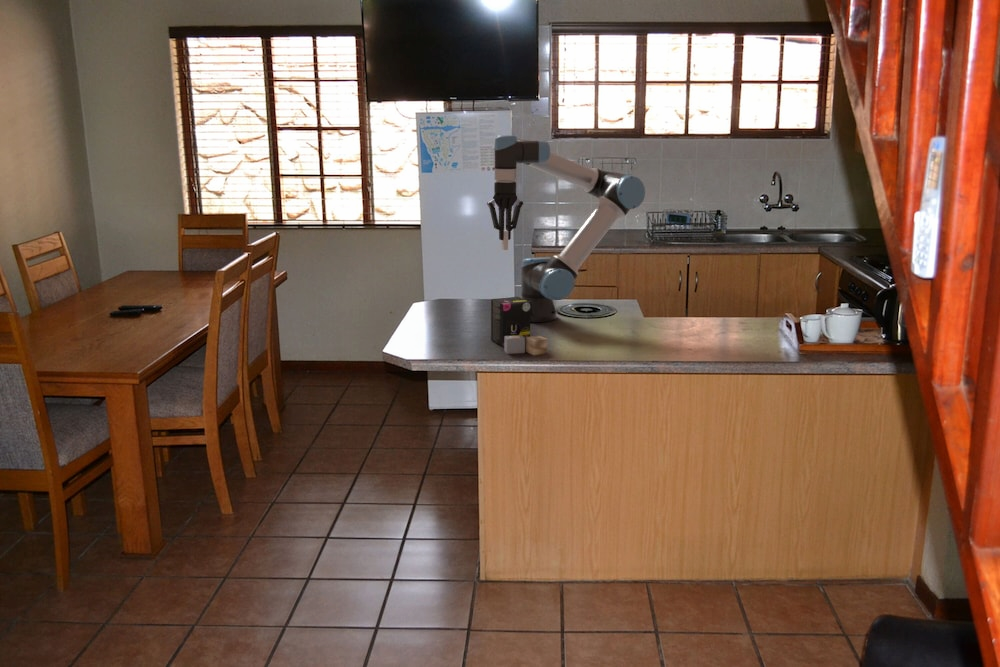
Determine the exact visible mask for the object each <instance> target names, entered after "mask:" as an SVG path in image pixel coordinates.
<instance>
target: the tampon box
mask: <svg viewBox="0 0 1000 667" xmlns="http://www.w3.org/2000/svg"><path fill="white" fill-rule="evenodd" d="M490 305H491V306H490V311H491V312H490V313H491V314H490V319H491V320H490V326H491V328H490V338H491V339H490V341H492V342H494V343H496V344H499V346H502V347H504V336H518V335H522V336H523V337H524V338H525V345H526V337H530V336H531V322H530V321H531V302H530V301H527V300H525V299H522V298H521V296H520V297H519V296H510V297H500V298H499V297H497V298H492V299H490Z"/></svg>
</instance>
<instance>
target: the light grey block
mask: <svg viewBox="0 0 1000 667" xmlns="http://www.w3.org/2000/svg"><path fill="white" fill-rule="evenodd" d="M503 348H504V350H503V351H504V352H505V353H506V355H509V354H525V352H526V344H525V338H524V337H523V336H522V335H518V336H504V346H503Z"/></svg>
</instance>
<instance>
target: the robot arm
mask: <svg viewBox="0 0 1000 667" xmlns="http://www.w3.org/2000/svg"><path fill="white" fill-rule="evenodd" d="M493 150H494V180H495V182H494V188H493V192H494V195H493V197H492V199H491V200H490V201H487V202H486V205H487V206H488V208H489V212H490V215H491V220H492V224H493V229H495V230H497V231H498V239H499V240H500V241H501V250H503V251H508V250H509V240H511V238H512V237H511V236H512V231H513V230H515V229H516V228H517V225H518V221H519V216H520V212H521V208H522V206H523V205H524V201H522V200H520V199H519V198H518V195H517V165H518V164H524V165H526V166H529V167H531V168H533V169H535V170H538V171H540V172H542V173H546V174H548V175H551V176H552V177H555V178H557V179H560V180H562V181H565V182H567V183H570V184H573V185H574V186H578V187H579V188H582V190H583V192H584V193H587V194H589V195H591V196H594V197H595V198H597V199H598V200H599V201H598V202H599V204H597V206H596V208H594V209H593V211H592V212H591V214H590V215H589V216H588V217H587V218H586V220H585V221H584V222H583V223H582V225H581V227H579V229H578V230H577V231H576V232H575V234H574V235H573V236H572V237H571V239H570V240H569V242H568V243H567V244H566V245H565V247H564V248H563V249H562V251H561V252H560V253H559V254H555V255H552V256H551V257H550V256H549V257H545V256H544V257H541V256H540V257H528V258H523V259H522V261H521V267H520V268H521V291H520V292H521V296H520V298H522V299H525V300H527V301H530V302H531V321H530V323H546V322H547V323H548V322H551V321H555V320H556V319H557V309H556V306H555V303H554V301H561V300H564V299H566V298H568V297H569V296H570V295H571V294H572V293H573V291H574V288H575V282H576V279H577V278H578V276H579V272H578V270H579V268H580V267H581V266H582V265H583V263H584V262H585V261H586V260H587V258H588V257H589V256H590V254H591V253H592V252H593V251H594V250H595V248H596V246H597V245H598V244H599V242H601V240H602V239H603V238H604V236H605V235H606V234H607V233H608V231H609V230H610V229H611V228H612V226H613V225H614V224H615V222H616V221H617V220H618V219H619V218H620V219H621V218H625V217H626V215H627V214H628V213H629V212H630V211H631V210H634V209H636V208H638V207H640V205H642V204H643V203H644V200H645V197H646V187H645V185H644V183H643V181H642V180H641V178H639V177H637V176H635V175H633V174H629V173H628V174H626V173H625V174H624V173H620V172H616V171H615V172H614V171H613V172H612V171H606V170H602V169H599V168H596V167H592V168H589V167H586V166H585V165H583V164H580V163H578V162H575V161H573V160H571V159H568V158H566V157H563V156H561V155H558V154H556V153H554V152H552V151H551V148H550V144H549V142H548V141H546V140H527V139H520V138H517V136H516V135H513V134H511V135H510V134H508V135H507V134H499V135H496V136H495V140H494V149H493ZM514 205H515V206H514ZM495 206H497V208H498V209H497V210H498V215H497V211H496V207H495ZM513 206H514V210H513ZM512 211H513V214H512Z"/></svg>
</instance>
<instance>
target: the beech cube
mask: <svg viewBox="0 0 1000 667" xmlns="http://www.w3.org/2000/svg"><path fill="white" fill-rule="evenodd" d="M547 347H548V338H546V337H543V336H541V335H530V337H526V344H525V352H526V353H527V354H530V355H531V356H538V355H545V354H547V353H548V348H547Z"/></svg>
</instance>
